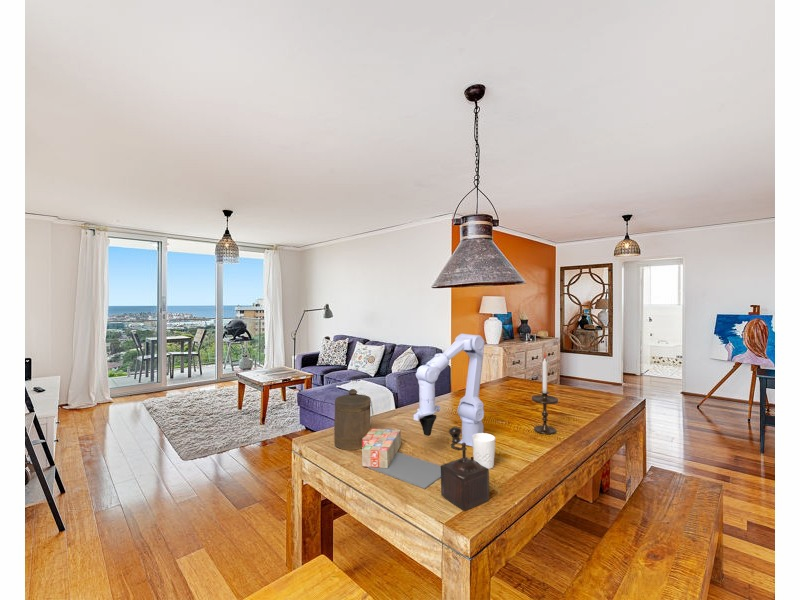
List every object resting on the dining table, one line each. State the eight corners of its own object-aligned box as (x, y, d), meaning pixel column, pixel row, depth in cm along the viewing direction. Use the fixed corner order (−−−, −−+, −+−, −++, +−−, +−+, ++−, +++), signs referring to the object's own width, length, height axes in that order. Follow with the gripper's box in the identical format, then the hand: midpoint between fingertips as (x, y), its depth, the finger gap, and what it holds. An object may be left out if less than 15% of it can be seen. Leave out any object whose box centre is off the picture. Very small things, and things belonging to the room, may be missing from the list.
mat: (396, 452, 145) (396, 451, 145) (451, 470, 130) (451, 468, 130) (368, 468, 132) (367, 466, 132) (424, 489, 118) (424, 487, 118)
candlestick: (560, 436, 160) (560, 353, 160) (533, 434, 162) (533, 353, 162) (555, 427, 171) (555, 349, 170) (530, 426, 173) (529, 349, 173)
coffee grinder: (491, 499, 111) (491, 438, 111) (463, 512, 105) (463, 447, 105) (456, 478, 124) (455, 424, 124) (429, 488, 118) (429, 430, 118)
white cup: (468, 465, 134) (467, 437, 134) (480, 458, 139) (480, 431, 139) (487, 472, 128) (487, 443, 128) (499, 465, 134) (499, 436, 134)
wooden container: (378, 440, 157) (377, 387, 157) (355, 453, 145) (354, 396, 144) (350, 433, 165) (350, 383, 165) (326, 445, 153) (326, 391, 152)
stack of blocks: (387, 450, 131) (353, 448, 133) (388, 468, 131) (354, 466, 133) (400, 429, 152) (370, 428, 154) (401, 444, 152) (371, 443, 154)
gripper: (428, 392, 148) (429, 427, 148) (406, 400, 137) (406, 438, 137) (444, 395, 144) (444, 431, 144) (422, 404, 132) (423, 442, 133)
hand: (427, 434), depth 140 cm, fingers closed
